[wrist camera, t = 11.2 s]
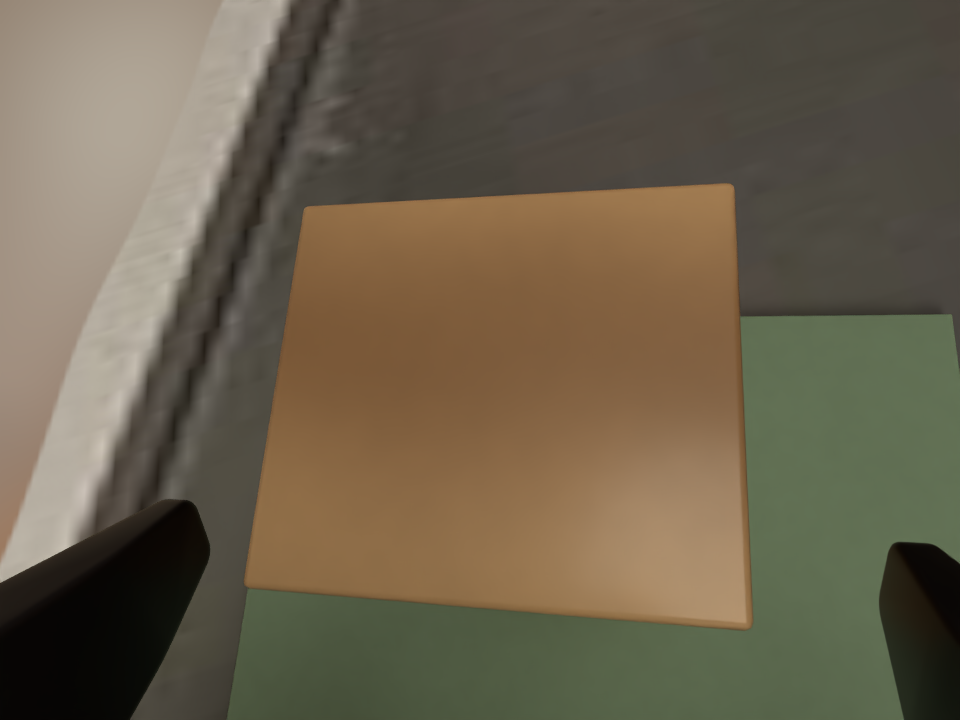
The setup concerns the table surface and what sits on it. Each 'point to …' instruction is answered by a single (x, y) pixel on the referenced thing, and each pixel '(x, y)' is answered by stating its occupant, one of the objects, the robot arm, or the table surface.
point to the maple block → (514, 408)
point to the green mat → (674, 648)
